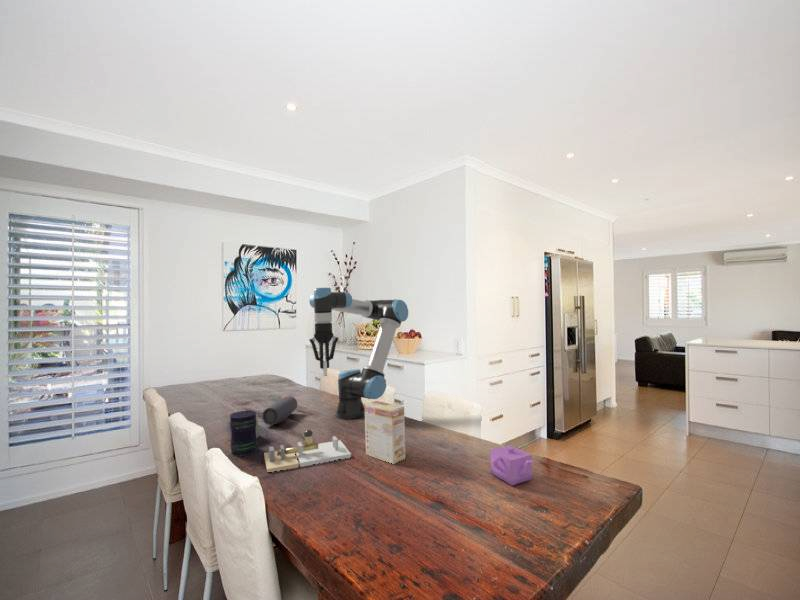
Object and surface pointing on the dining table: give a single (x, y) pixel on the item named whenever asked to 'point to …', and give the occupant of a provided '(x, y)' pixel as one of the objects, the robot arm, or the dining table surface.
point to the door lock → (306, 456)
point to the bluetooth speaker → (279, 410)
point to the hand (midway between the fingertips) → (324, 375)
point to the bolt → (307, 447)
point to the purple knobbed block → (511, 464)
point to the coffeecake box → (385, 431)
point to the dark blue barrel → (243, 433)
